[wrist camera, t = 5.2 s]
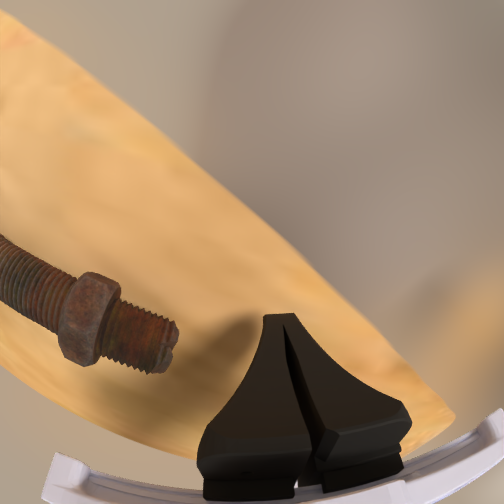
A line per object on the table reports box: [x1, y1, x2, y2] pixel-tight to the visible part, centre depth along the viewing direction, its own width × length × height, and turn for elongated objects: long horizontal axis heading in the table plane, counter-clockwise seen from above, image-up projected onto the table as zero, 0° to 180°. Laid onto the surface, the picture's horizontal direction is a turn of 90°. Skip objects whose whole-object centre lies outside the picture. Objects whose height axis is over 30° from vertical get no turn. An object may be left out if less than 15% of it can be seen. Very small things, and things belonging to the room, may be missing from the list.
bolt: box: [0, 234, 179, 374], centre depth 11 cm, size 6×5×15 cm
